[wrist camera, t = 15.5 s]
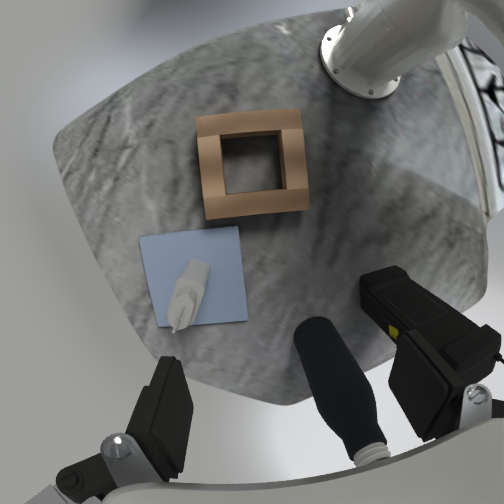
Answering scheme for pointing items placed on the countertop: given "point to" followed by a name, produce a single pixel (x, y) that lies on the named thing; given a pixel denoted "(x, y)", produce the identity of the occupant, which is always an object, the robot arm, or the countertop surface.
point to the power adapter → (188, 294)
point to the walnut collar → (248, 125)
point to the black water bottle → (341, 390)
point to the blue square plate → (206, 250)
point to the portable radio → (429, 322)
